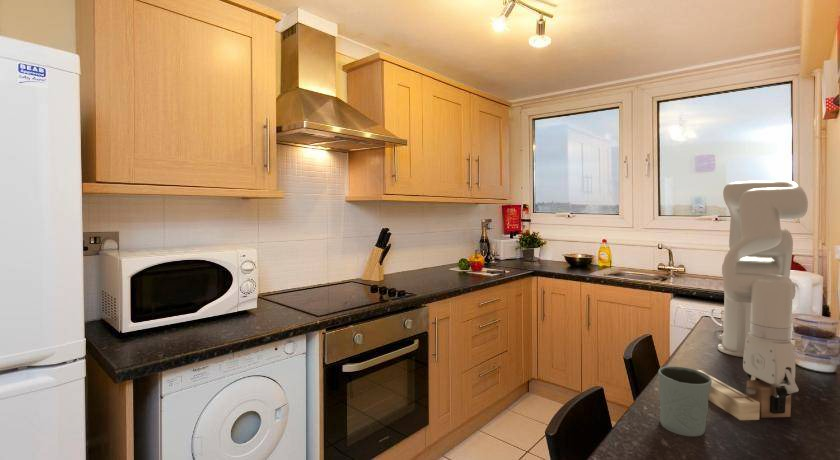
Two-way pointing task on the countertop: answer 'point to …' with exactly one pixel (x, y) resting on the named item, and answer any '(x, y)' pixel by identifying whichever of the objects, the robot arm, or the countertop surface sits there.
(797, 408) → the countertop surface
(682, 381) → the green cup
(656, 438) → the countertop surface
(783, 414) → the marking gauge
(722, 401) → the guide plank
